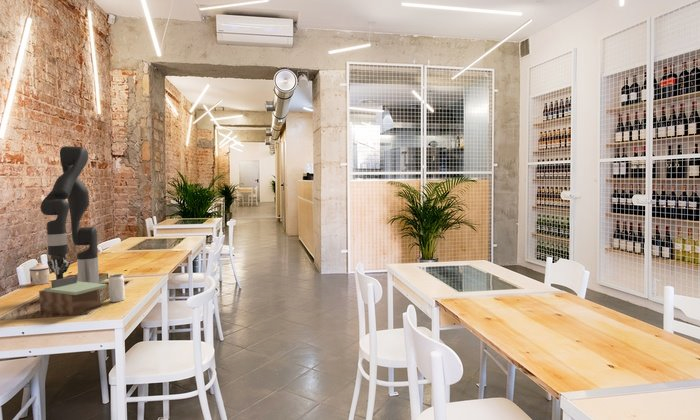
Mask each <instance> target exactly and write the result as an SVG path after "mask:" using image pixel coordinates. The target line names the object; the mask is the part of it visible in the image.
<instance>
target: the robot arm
mask: <svg viewBox="0 0 700 420" xmlns="http://www.w3.org/2000/svg"><path fill="white" fill-rule="evenodd" d="M59 159H60V165H61V168H62V171H63V173H62V174H61V175H60V176H58V178H57V179H56V180H55V182H54V184H53V188H52V189H51V190H50V192H49V193H48V194H47V195H46V196H45V197H44V199H42V201H41V204H40V211H41V213H42V214H43V215H45V216H56V219H54V220H49V221H47V223H46V233H47V235H46V236H47V237H46V244H47V247H46V248H47V255H48V256H49V257H50V260H47V262H46V263H47V265H48V268H49V269H50V271H51V273H53V274H54V275H55V280H57V279H62V278H63V277H64V273H67V272H68V269H69V267H70V266H71V262H70V261H67V256H66V255H67V254H68V253H69V249H68V236H67V226H66V225H67V224H66V223H67V220H68V218H67V217H68V215H69V216H70V223H71V225H70V226H71V239H72V244H74V246H88V247H87V249H85V250H83V251H80V252H78V253H77V255H76V264H77V274H76V275H77V281H79V282H89V283H99V258H98V257H99V256H98V231H97V229H96V227H95V226H89V227H85V226H84V227H80V222H81V219H82V217H83V215H84V213H85V212H86V211H87V209H88V208H89V205H90V195H89V190H88V187H86V185H85V184H84V183H83V181H81V179H80V178H79V176H80V174H81V173H82V172H83V170H84V168H85V167H86V166H87V163H88V161H89V153H88V149H87V148H85V147H83V146H71V145H68V146H66V145H65V146H62V147H60V151H59ZM99 284H100V283H99Z"/></svg>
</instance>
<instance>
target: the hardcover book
mask: <svg viewBox="0 0 700 420" xmlns="http://www.w3.org/2000/svg"><path fill="white" fill-rule="evenodd" d="M72 276H76V279H77V274H68V275H66V276H63V278H67V277H72ZM107 280H109V273H108V272H103V273H101V272H100V273H99V284H101V283H102V281H103V282H105V281H107ZM100 282H101V283H100Z"/></svg>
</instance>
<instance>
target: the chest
mask: <svg viewBox="0 0 700 420" xmlns="http://www.w3.org/2000/svg"><path fill="white" fill-rule="evenodd" d="M38 292H39V293H38V294H39V308H40V309H39V310H40V312H46V313H53V314H58V315H64V316H73V315H76V314H80V313H83V312H87V311H91V310H93V309H97V308H101V289H98V290H94V291H90V292H86V293H82V294H78V295H70V294H62V293H54V292H46V291H45V289H42V290H39V291H38Z"/></svg>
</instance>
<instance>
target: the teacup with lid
mask: <svg viewBox="0 0 700 420" xmlns="http://www.w3.org/2000/svg"><path fill="white" fill-rule="evenodd" d="M29 278H30V285H31V286H41V284H42V285H47V284H49V283H50V273H49V265H48V266H47V265H44V264H42V263H41V262H37V263H36V265H33V267H30V268H29ZM46 283H47V284H46Z"/></svg>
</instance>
